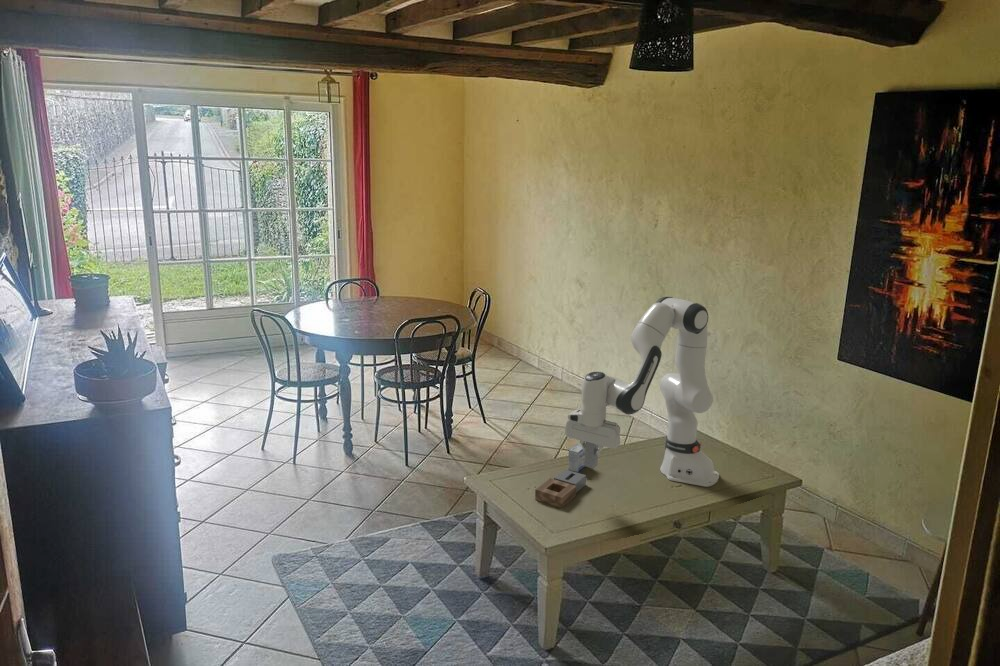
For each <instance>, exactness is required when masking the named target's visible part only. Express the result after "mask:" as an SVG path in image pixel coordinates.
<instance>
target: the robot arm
mask: <svg viewBox="0 0 1000 666" xmlns="http://www.w3.org/2000/svg"><path fill="white" fill-rule="evenodd" d="M708 322H709V312H708V310H707V307H705V306H703V305H702V304H700V303H697V302H693V301H691V300H689V299H685V298H684V299H683V298H676V297H673V296H662V297H660V298H659V299H658V300H656V302H654V303H653V304H652V305H651V306H650V307H649V308H648V309H647V310H646V311H645V312H644V314H643V315H642V316H641V318H640V319H639V321H638V322H637V324H636V326H635V327H634V329H633V330H632V332H631V336H630V339H631V340H630V341H631V344H632V346H633V348H634V350H635V351H636V352H637V353H638V354H639V356H640V359H641V363H640V365H639V368H638V370H637V372H636V374H635V375H634V376H635V377H634V379H633V381H632V382H631V383H628V382H625V381H624V380H621V379H619V378H616V377H614V376H609V375H607V374H605V373H604V371H591V372H589V373H587V374H585V376H584V378H583V381H582V386H581V400H582V404H581V408H579V409H578V408H577V409H575V410H573V411H571V412H570V413H569V414H568V415H567V421H566V422H565V429H564V430H565V431H564V434H565V436H566V437H567V438H570V439H573V440H577V441H579V444H581V446H582V448H583V452H585V445H586V442H590V443H594V444H596V445H598V449H597V450H596V451H595V455H596V456H598V457H600V456H601V452H602V449H603V448H608V449H612V450H616V448H618V447H619V446H620V444H621V437H620V435H621V426H620V425H619V424H618V423H616V422H615V421H614V422H613V421H609V420H606V418H607V406H612V407H613V408H615V409H617V410H619V411H620V412H621V413H623V414H626V415H633V414H635V413H638V412H639V411H640V410H641V409H642V408H643V406H644V403H645V400H646V396H647V393H648V390H649V389H650V386H651V383H652V381H653V379H654V377H655V375H656V372H657V370H658V367H659V365H660V363H661V359H662V355H663V354H662V350H661V349H662V345H663V342H664V341H665V339H666V338H667V336H668V333H669V331H670V329H671V328H673V329H678V334H677V338H676V339H677V340H676V347H675V355H674V364H675V367H676V368H677V370H678V373H677V372H676V373H675V372H668V373H666V374H664V375H663V376H662V378H661V380H660V382H659V388H660V389H659V390H660V391H661V393H662V395H663V399H664V402H665V406H666V411H667V419H668V421H667V423H668V424H667V435H666V437H665V442H664V449H665V451H664V455H663V460H662V464H661V466H660V468H659V469H660V472H661V473H662V474H663V475H664V476H666V478H667V479H668V480H669V481H672V482H679V483H684V484H688V485H689V484H690V485H694V486H700V487H706V488H708V487H712V486H713V485H715V484H716V483H718V481H719V480H720V479H719V478H720V475H719V472H718V471H716V470H714V463H713V460H712V459H711V458H710V457H708V456H707V455H706V454H705V453H704V452H703V451H702V450H701V446H702V441H700V442H699V441H698V440H697V433H698V419H697V417H696V415H695V413H696V414H703V413H705V412H707V411H709V409H711V407H712V405H713V401H714V396H713V393H712V392H711V390H710V388H709V385H708V381H707V375H706V369H705V367H706V362H705V361H706V355H707V354H706V353H707V345H708Z"/></svg>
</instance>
